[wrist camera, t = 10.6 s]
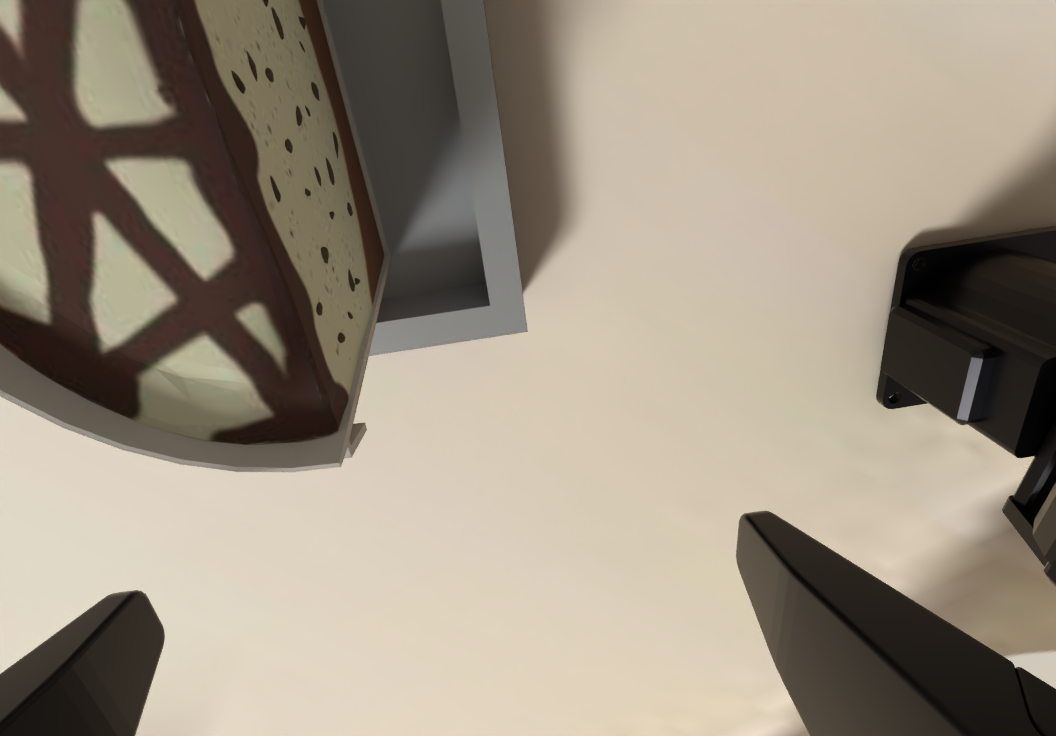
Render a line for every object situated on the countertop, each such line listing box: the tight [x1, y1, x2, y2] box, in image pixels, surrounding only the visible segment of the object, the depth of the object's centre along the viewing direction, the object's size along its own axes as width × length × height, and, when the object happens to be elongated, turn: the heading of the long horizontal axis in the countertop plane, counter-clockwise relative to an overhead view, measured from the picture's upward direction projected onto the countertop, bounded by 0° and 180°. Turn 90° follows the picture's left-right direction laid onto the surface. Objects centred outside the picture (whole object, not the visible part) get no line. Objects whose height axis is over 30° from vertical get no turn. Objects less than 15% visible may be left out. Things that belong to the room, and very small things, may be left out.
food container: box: [0, 0, 391, 472], centre depth 12 cm, size 12×6×10 cm, turn 8°
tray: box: [323, 0, 528, 356], centre depth 15 cm, size 12×17×3 cm
